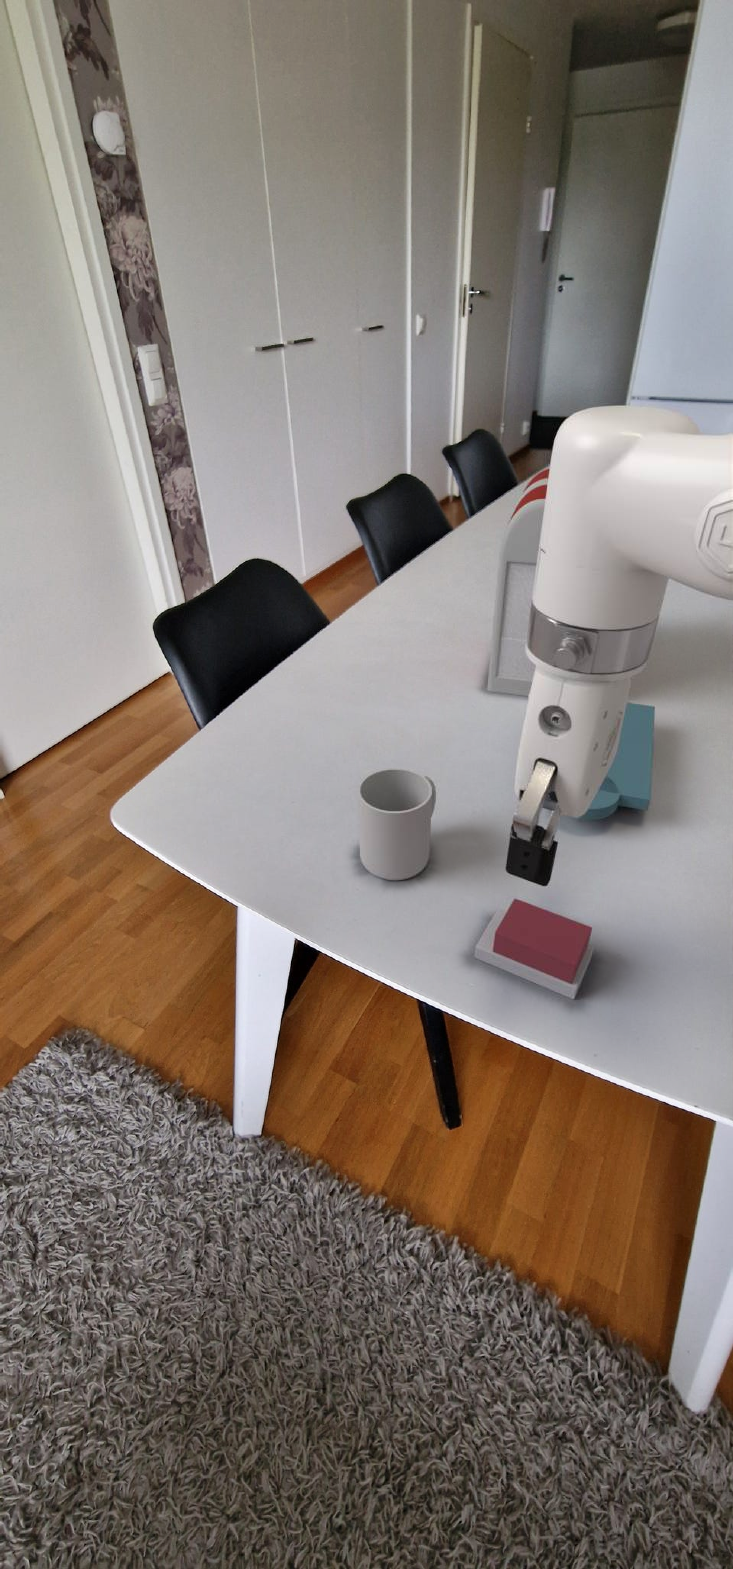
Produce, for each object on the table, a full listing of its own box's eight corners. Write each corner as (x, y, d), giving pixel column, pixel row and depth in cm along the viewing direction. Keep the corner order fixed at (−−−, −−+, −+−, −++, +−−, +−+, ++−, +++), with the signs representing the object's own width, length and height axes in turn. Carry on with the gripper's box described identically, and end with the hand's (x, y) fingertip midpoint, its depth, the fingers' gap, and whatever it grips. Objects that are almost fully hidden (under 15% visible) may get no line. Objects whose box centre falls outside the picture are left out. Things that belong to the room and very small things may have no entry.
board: (546, 717, 94) (550, 691, 92) (648, 733, 91) (655, 706, 88) (515, 824, 77) (519, 796, 74) (640, 849, 73) (649, 820, 71)
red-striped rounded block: (484, 691, 100) (502, 493, 84) (502, 639, 114) (520, 460, 98) (605, 706, 96) (647, 501, 80) (608, 650, 110) (645, 465, 94)
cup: (345, 861, 73) (341, 793, 67) (405, 813, 79) (406, 747, 73) (400, 893, 69) (400, 823, 64) (458, 840, 75) (463, 773, 70)
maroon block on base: (591, 958, 62) (599, 927, 60) (573, 999, 59) (581, 969, 56) (495, 920, 66) (499, 890, 63) (474, 957, 62) (477, 927, 60)
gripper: (612, 711, 36) (561, 932, 47) (680, 596, 48) (627, 793, 58) (478, 677, 39) (457, 891, 50) (572, 576, 51) (540, 767, 61)
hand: (549, 838), depth 54 cm, fingers open, 9 cm apart
